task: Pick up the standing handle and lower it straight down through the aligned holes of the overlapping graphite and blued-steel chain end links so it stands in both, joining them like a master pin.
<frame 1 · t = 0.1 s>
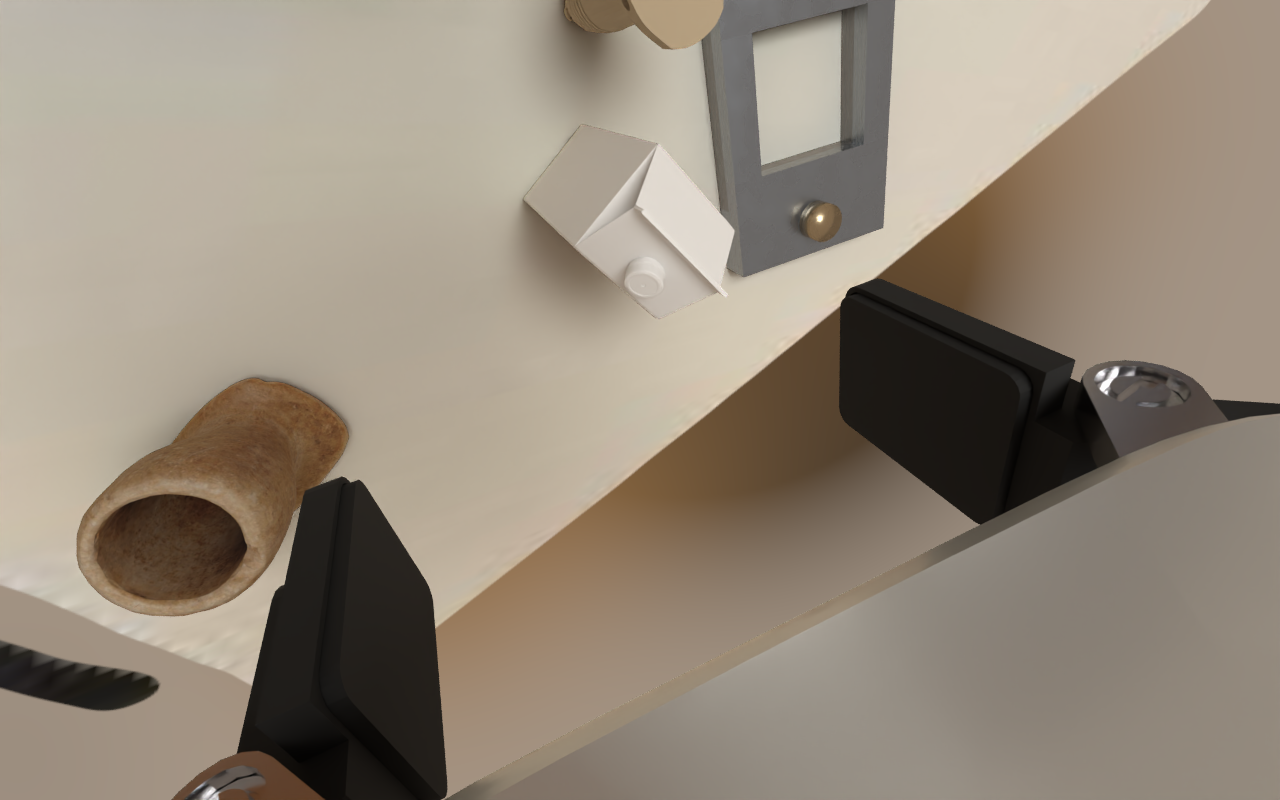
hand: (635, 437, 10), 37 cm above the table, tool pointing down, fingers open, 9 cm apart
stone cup: (240, 448, 44), on the table
lower end link: (800, 53, 43), in the upper end link
handle: (582, 2, 38), on the table
milk carton: (584, 193, 44), on the table
upper end link: (790, 92, 46), on the table
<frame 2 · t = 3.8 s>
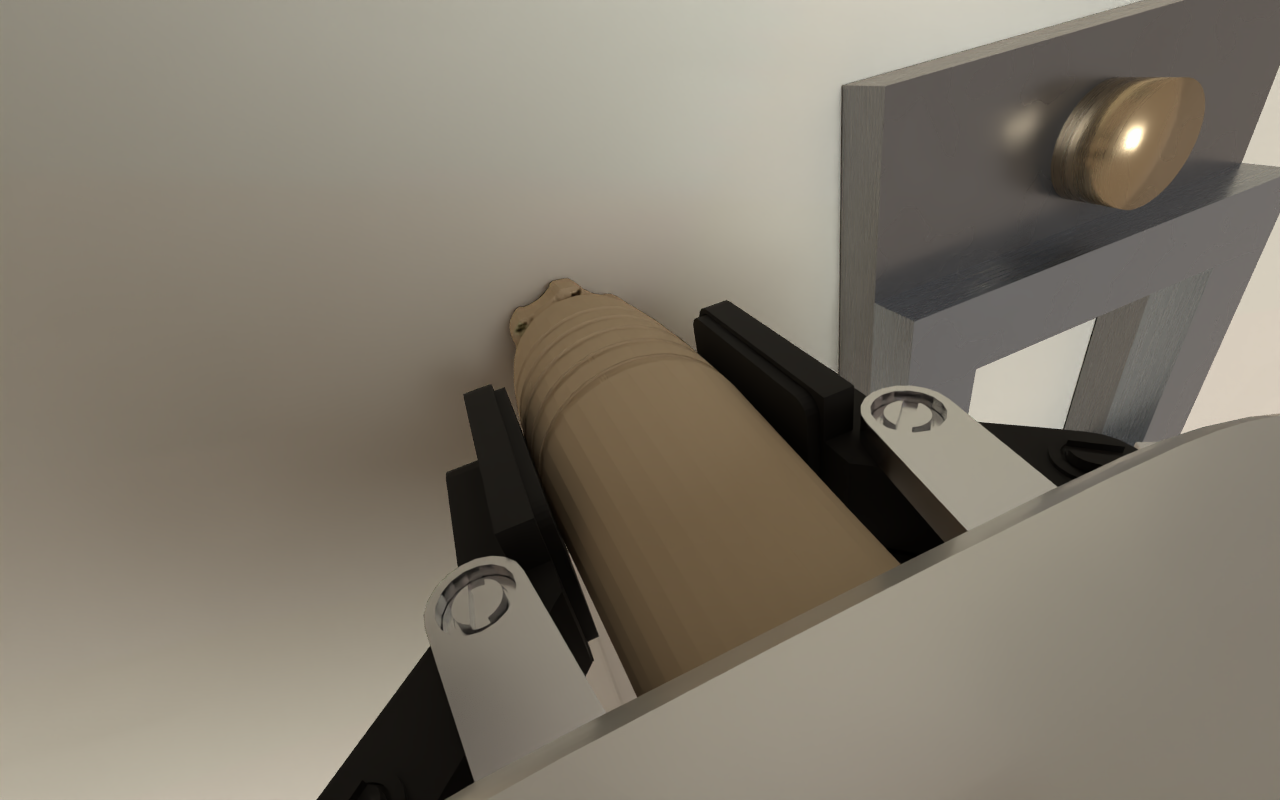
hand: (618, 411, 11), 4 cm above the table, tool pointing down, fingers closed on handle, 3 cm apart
lower end link: (1043, 357, 20), in the upper end link
handle: (564, 332, 15), on the table, touching gripper
milk carton: (573, 640, 21), on the table
upper end link: (993, 399, 23), on the table
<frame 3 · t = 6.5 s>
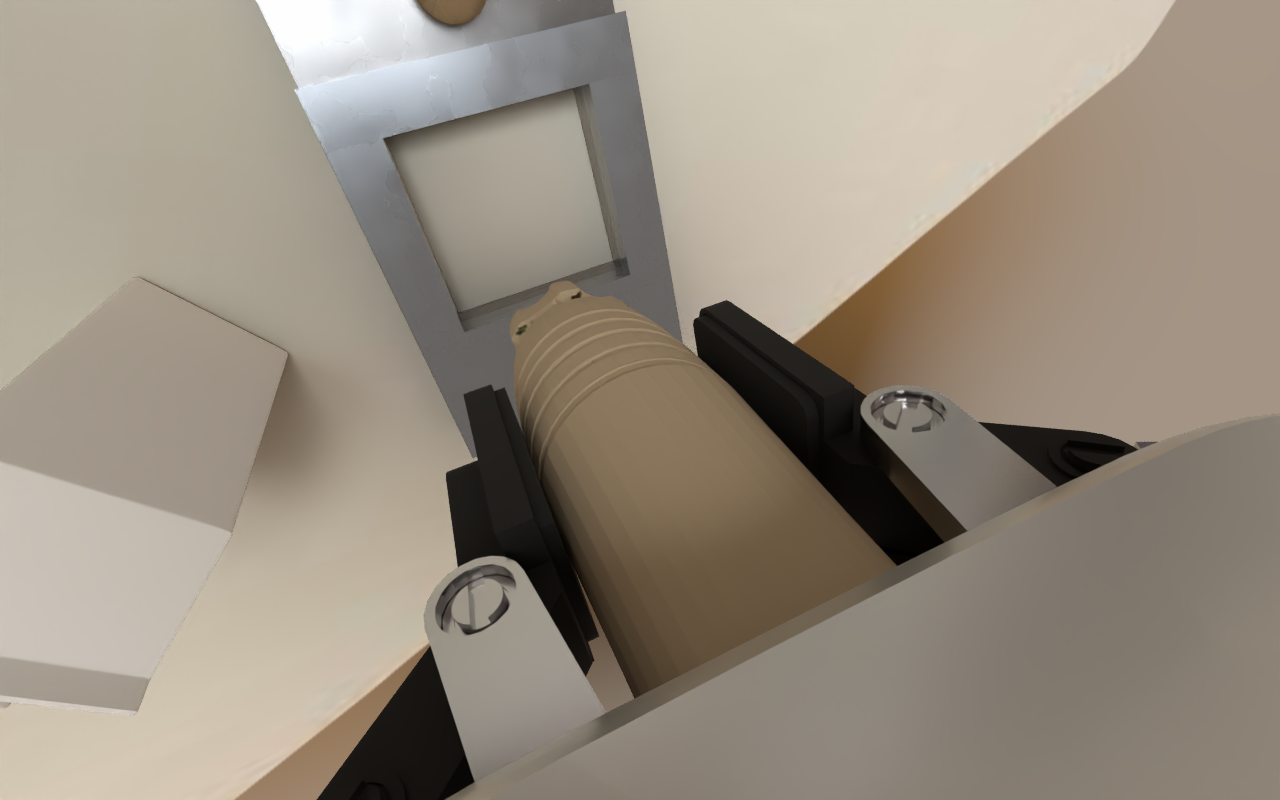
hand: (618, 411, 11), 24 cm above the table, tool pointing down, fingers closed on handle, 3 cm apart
lower end link: (500, 156, 29), in the upper end link
handle: (564, 334, 15), point 20 cm above the table, touching gripper
milk carton: (182, 366, 29), on the table
upper end link: (512, 204, 31), on the table
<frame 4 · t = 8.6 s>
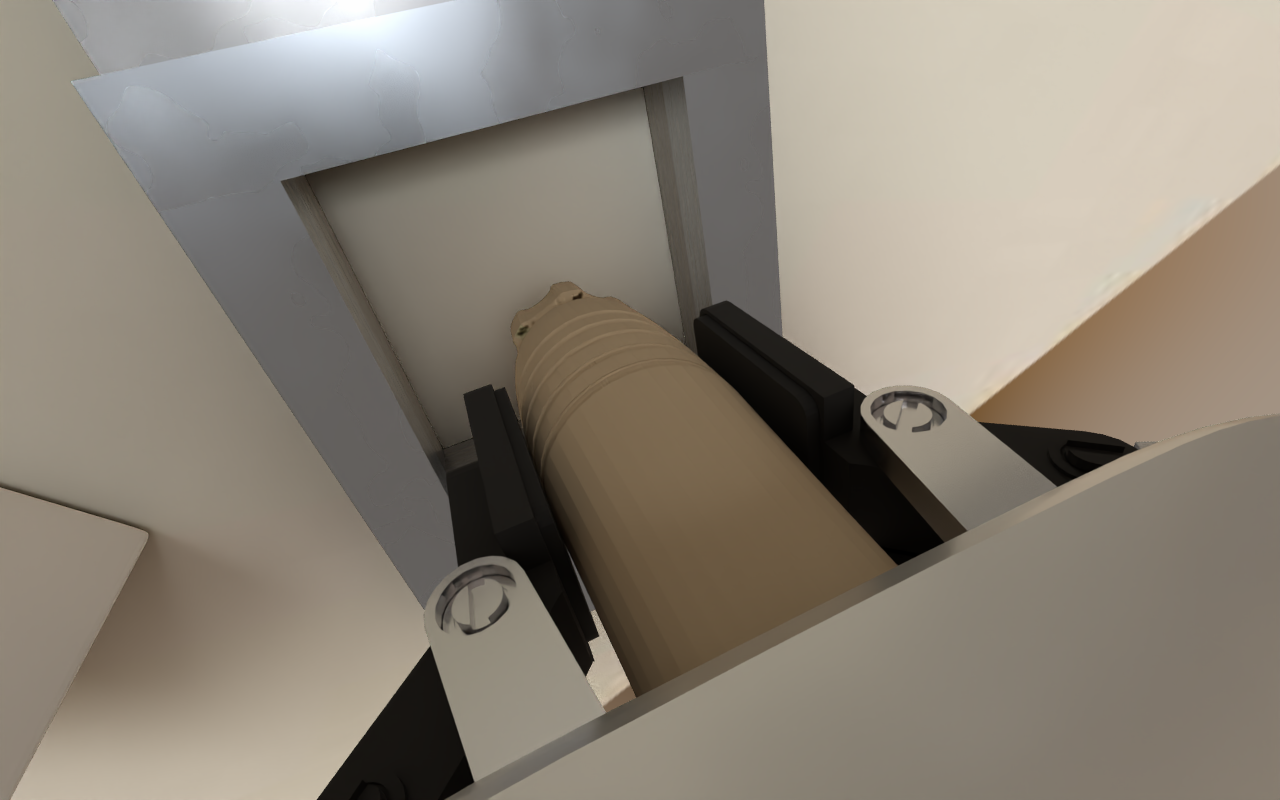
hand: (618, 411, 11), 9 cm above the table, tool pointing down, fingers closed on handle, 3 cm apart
lower end link: (515, 206, 16), in the upper end link
handle: (565, 334, 15), point 5 cm above the table, touching gripper
upper end link: (532, 280, 19), on the table
when the fingers open (5 cm above the table, at t = 9.6 s): handle drops 1 cm, resting in lower end link.
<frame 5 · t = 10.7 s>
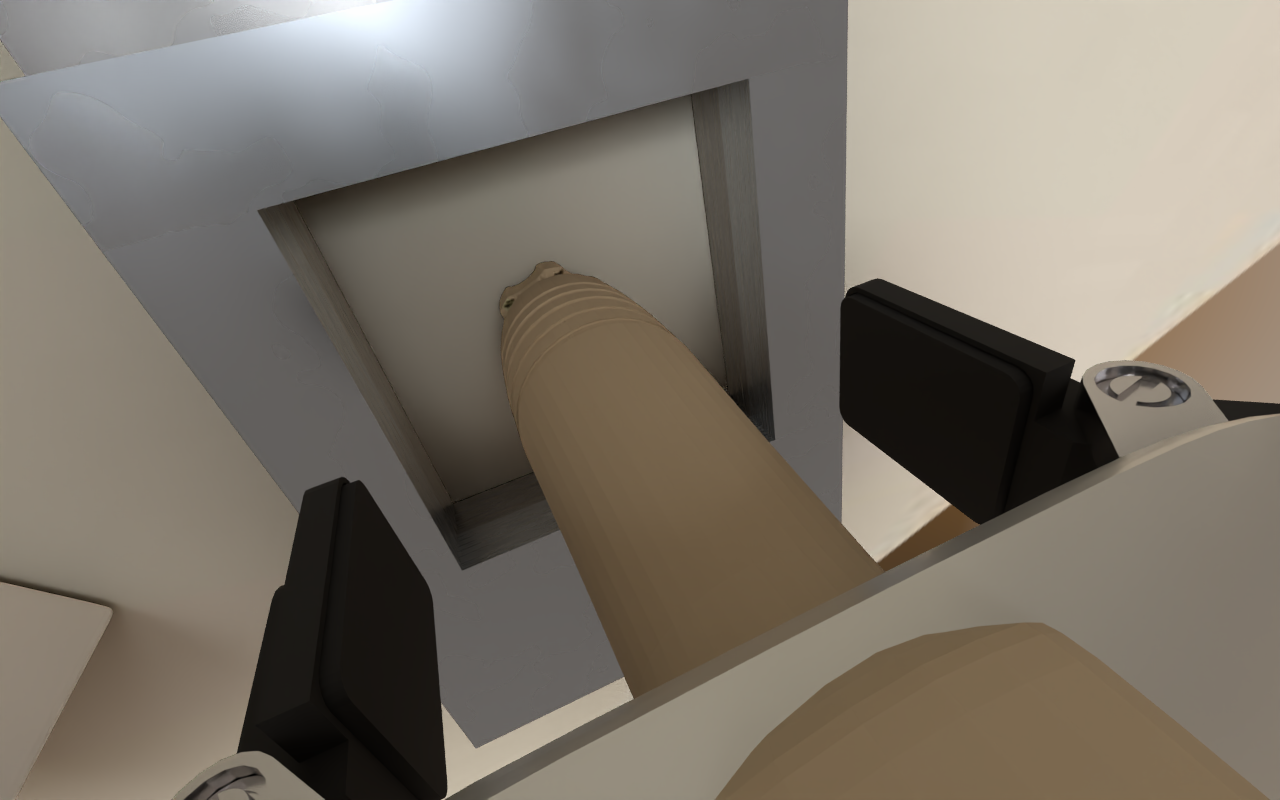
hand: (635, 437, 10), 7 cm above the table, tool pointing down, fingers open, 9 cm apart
lower end link: (542, 233, 13), in the upper end link
handle: (550, 311, 16), resting in lower end link
upper end link: (558, 314, 16), on the table
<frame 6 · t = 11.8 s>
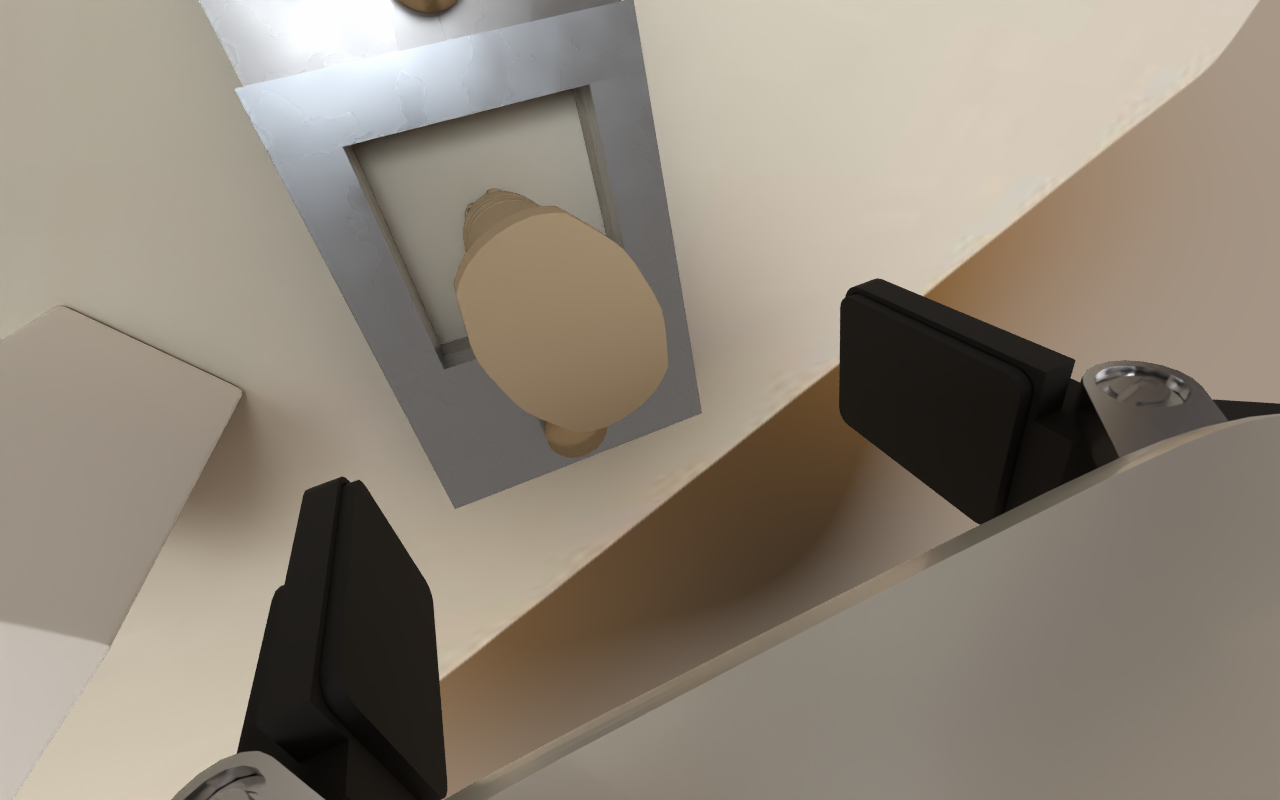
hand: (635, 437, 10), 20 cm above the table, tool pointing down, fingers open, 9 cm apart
lower end link: (486, 168, 25), in the upper end link
handle: (497, 221, 27), resting in lower end link
milk carton: (120, 405, 25), on the table
upper end link: (502, 223, 27), on the table
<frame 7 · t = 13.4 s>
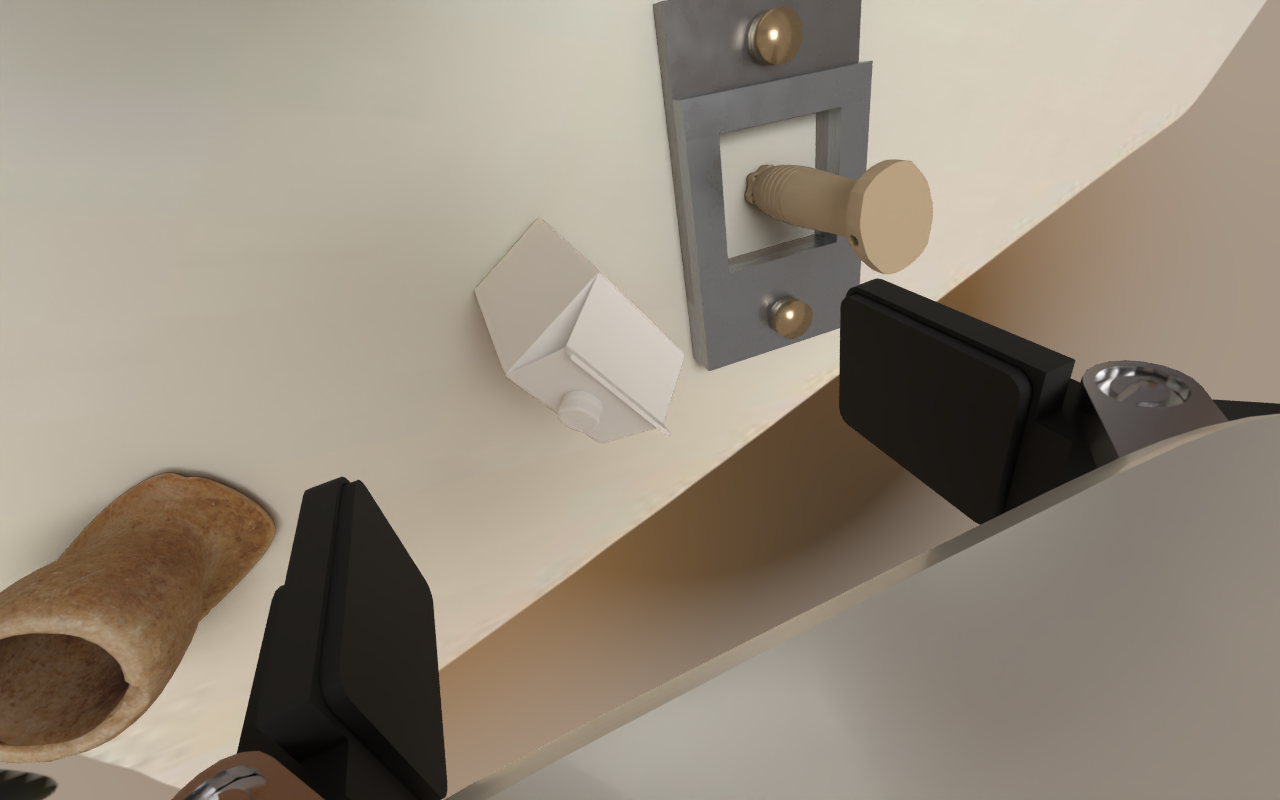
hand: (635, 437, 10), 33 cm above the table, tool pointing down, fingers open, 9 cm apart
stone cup: (155, 541, 41), on the table
lower end link: (771, 152, 42), in the upper end link
handle: (759, 186, 45), resting in lower end link
milk carton: (541, 284, 42), on the table
upper end link: (762, 187, 45), on the table
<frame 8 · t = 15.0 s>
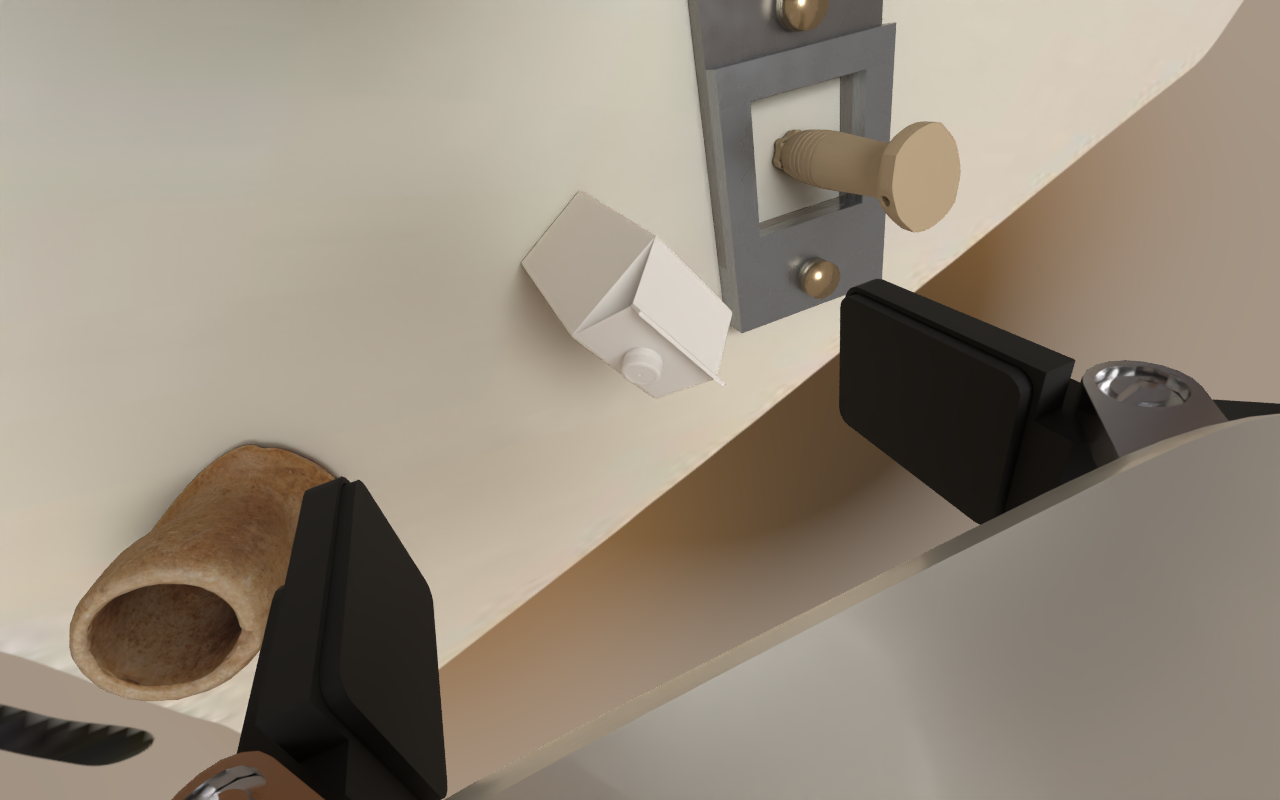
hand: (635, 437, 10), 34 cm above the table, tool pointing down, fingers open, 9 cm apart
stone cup: (235, 510, 44), on the table
lower end link: (799, 117, 43), in the upper end link
handle: (786, 151, 46), resting in lower end link
milk carton: (582, 254, 44), on the table
upper end link: (789, 152, 46), on the table
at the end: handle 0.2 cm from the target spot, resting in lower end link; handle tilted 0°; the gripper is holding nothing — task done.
